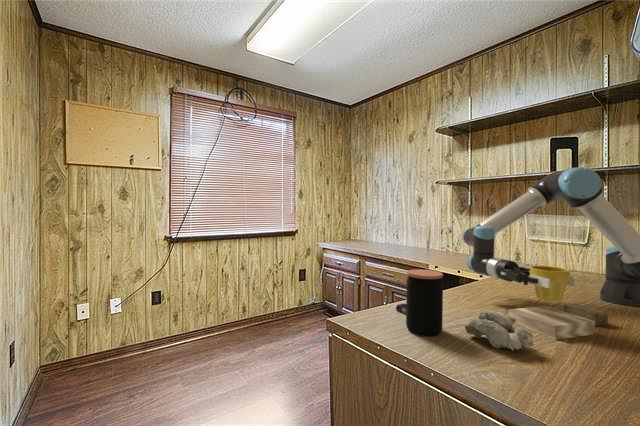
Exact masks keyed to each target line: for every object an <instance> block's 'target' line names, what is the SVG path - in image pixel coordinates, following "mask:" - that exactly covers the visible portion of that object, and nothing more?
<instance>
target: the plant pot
mask: <svg viewBox="0 0 640 426" xmlns="http://www.w3.org/2000/svg"><path fill="white" fill-rule="evenodd" d="M529 268H530V275H533V276H538V277H543V278H547V279H550V288H545V287H541V286H537V285H534V284H533V286H534V290H535V294H536V297H537V299H540V300H542V301H543V300H544V301H551V302H560V301H563V299H564V293H565V291H566V287H567V285H566V284H567V282H568V281H569V280H570V276H571V271H570V269H568V268H565V267H560V266H552V265H531V266H530V267H529Z"/></svg>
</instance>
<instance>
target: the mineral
mask: <svg viewBox="0 0 640 426" xmlns="http://www.w3.org/2000/svg"><path fill="white" fill-rule="evenodd" d="M514 322H516V319H515V318H512V317H509V315H506V314H505V313H503V312H499V311H495V310H490V309H484V308H483V309H482V310H480V311H479V315H478V318H473V319H470V320H469V321H468V322H466V324H465V325H464V328H465V331H466V333H467V334H469V335H473V336H475V337H476V338H477V339H482V336H485V337H486V338H487V339H488V342H489V343H490V345H491V346H493V348H495V349H501V348H504V349H506V348H507V349H510V350H512V351H514V350H520V349H521V348H523V347H533V346H534V345H535V344H534V341H533V338H534V335H533V334H532V333H531V332H530V331H529V330H528V329H527V328H524V327H522V326H519V325H516V326H515V327H513V325H514Z"/></svg>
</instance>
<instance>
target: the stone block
mask: <svg viewBox="0 0 640 426" xmlns="http://www.w3.org/2000/svg"><path fill="white" fill-rule="evenodd" d="M562 311H563V312H566V313H569V314H573V315H576V316H579V317H582V318H586V319H589V320H592V321H595V327H603V326H606V325H608V323H609V322H608V321H609V319H608V318H609V317H608V314H607V312H606V311H604V310H602V309H598V308H594V307H591V306H587V305H583V304H580V303H576V302H575V303H573V302H570V303H564V306H563V310H562Z"/></svg>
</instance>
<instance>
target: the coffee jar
mask: <svg viewBox="0 0 640 426" xmlns="http://www.w3.org/2000/svg"><path fill="white" fill-rule="evenodd" d="M406 275H407V278H406V299H405V300H406V303H405V304H406V314H405V319H406V320H405V322H406V323H405V325H406V327H407V329H408V331H409V332H410V333H412V334H414V335H417V336H423V337H435V336H439V335H440V334H441V333H442V330H443V317H444V315H443V310H444V308H443V307H444V305H443V303H444V298H443V297H444V296H443V295H444V283H443V280H442V279H443V278H444V273H442V272H441V271H437V270H432V269H421V268H420V269H408V270H407V271H406Z"/></svg>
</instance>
